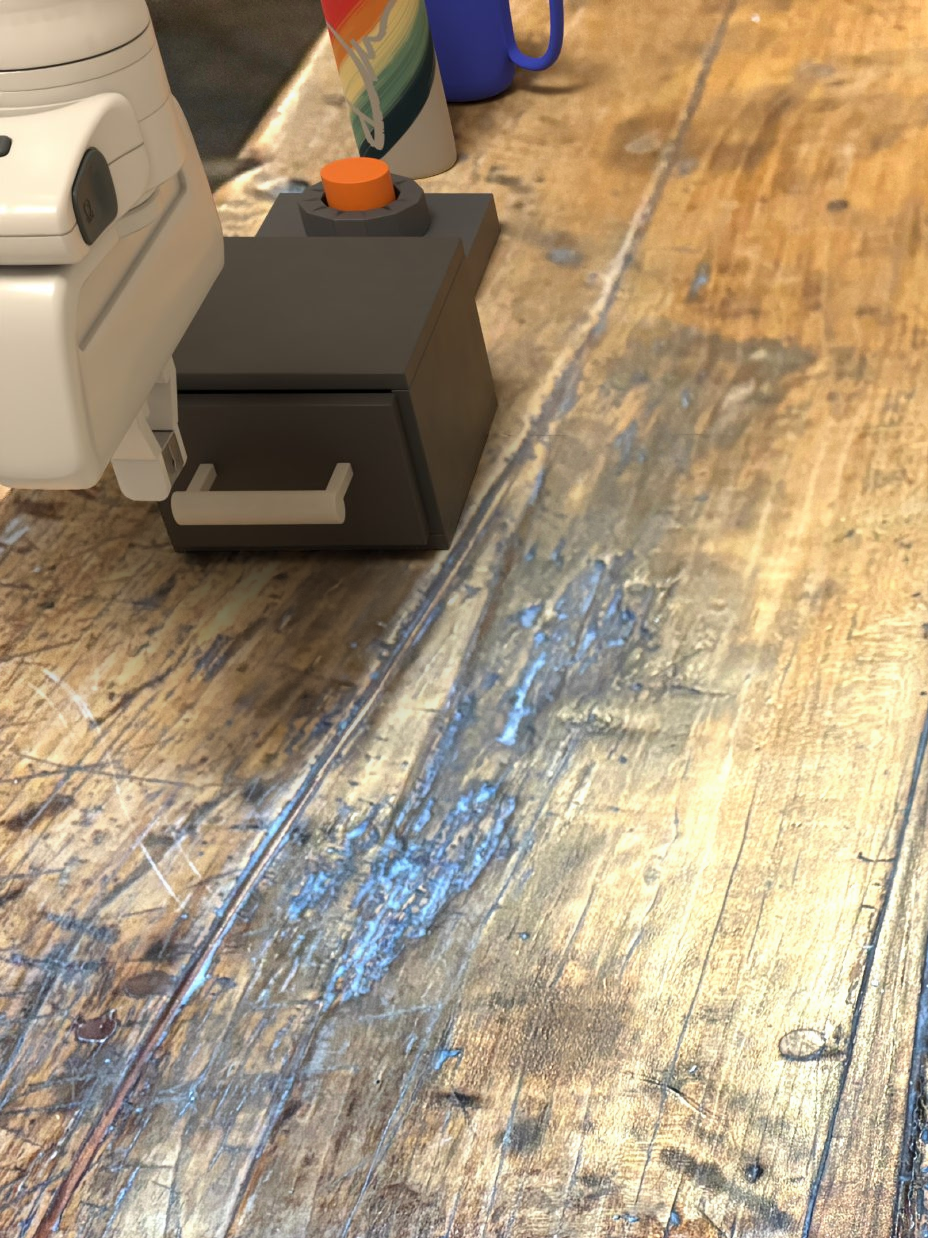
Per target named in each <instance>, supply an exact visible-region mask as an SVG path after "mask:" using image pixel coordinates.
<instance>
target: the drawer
mask: <svg viewBox="0 0 928 1238" xmlns="http://www.w3.org/2000/svg"><path fill="white" fill-rule="evenodd" d="M391 390H392V389H379V390H177V408H178V422H177V424H178V428H179V431H180V434H181V438H182V441H183V445H184V448H185V451H186V455H187V460H186V463H185V465H184V467H183V469H182V470H181V472H180V474H179V475H178V477H177V479H176V480H175V482H174V484H173V486H172V488H171V490H170V493H169V495H168V497H167V498H166V499H165V500H162V501H159V504H160V507H161V510H162V513H163V515H164V518H165V521H166V524H167V527H168V530H169V533H170V536H171V538H172V541H173V544H174V546H175V547H236V546H354V545H426V544H427V541H428V538H429V536H430V533H431V531H430V527H429V523H428V519H427V515H426V512H425V508H424V504H423V500H422V496H421V492H420V488H419V484H418V480H417V476H416V472H415V468H414V464H413V460H412V457H411V453H410V449H409V445H408V441H407V437H406V433H405V429H404V425H403V421H402V417H401V413H400V409H399V406H398V402H397V398H396V394H395V393H392V392H391Z"/></svg>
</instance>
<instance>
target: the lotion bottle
mask: <svg viewBox="0 0 928 1238" xmlns="http://www.w3.org/2000/svg"><path fill="white" fill-rule="evenodd" d="M320 3H321V8H322V12H323V16H324V20H325V24H326V29H327V32H328V35H329V36H328V37H329V40H330V45H331V48H332V52H333V57H334V60H335V64H336V68H337V72H338V77H339V81H340V84H341V85H340V86H341V88H342V89H341V90H342V92H343V97H344V99H345V105H346V109H347V112H348V117H349V120H350V125H351V129H352V133H353V136H354V139H355V145H356V148H357V151H358V155H359V157H366V158H374V159H378V160H381V161H383V162H385V163H386V164H387V165H388V167H389V171H390V173H392V174H396V175H400V176H404V177H408V178H412V179H413V180H421V179H425V178H429V177H433V176H437V175H440V174H443V173H444V172H447V171H448V170H450V169H451V168H452V167H453V166H454V165H455V163H456V161H457V159H458V158H457V147H456V142H455V141H456V140H455V136H454V131H453V127H452V123H451V118H450V113H449V108H448V103H447V101H446V98H445V94H444V89H443V85H442V80H441V75H440V71H439V66H438V62H437V57H436V52H435V48H434V43H433V39H432V34H431V29H430V25H429V20H428V16H427V11H426V7H425V2H424V0H320Z"/></svg>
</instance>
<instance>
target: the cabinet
mask: <svg viewBox="0 0 928 1238" xmlns="http://www.w3.org/2000/svg"><path fill="white" fill-rule="evenodd" d="M223 240H224V266H223V268H222V270H221V272H220V274H219V275H218V277H217V278H216V280H215V282H214V284H213V285H212V287H211V289H210V291H209V292H208V294H207V296H206V297H205V299H204V301H203V303H202V304H201V306H200V308H199V309H198V311H197V313H196V315H195V316H194V318H193V320H192V321H191V323H190V325H189V326H188V328H187V330H186V332H185V333H184V335H183V337H182V338H181V340H180V342H179V344H178V345H177V347H176V349H175V350H174V352H173V354H172V358H173V362H174V365H175V368H176V384H177V390H379V389H392V390H391V392H392V393H395V394H396V398H397V402H398V406H399V409H400V413H401V417H402V421H403V425H404V429H405V433H406V437H407V441H408V445H409V449H410V453H411V457H412V460H413V464H414V468H415V472H416V476H417V480H418V484H419V488H420V492H421V496H422V500H423V504H424V508H425V512H426V515H427V519H428V523H429V527H430V531H431V533H430V536H429V538H428V541H427V544H426V545H354V546H236V547H175V546H174V544H173V541H172V538H171V536H170V533H169V530H168V527H167V524H166V521H165V518H164V515H163V513H162V510H161V507H160V504H159V501H155V502H156V504H157V508H158V509H159V513H160V515H161V519H162V522H163V525H164V528H165V530H166V534H167V536H168V538H169V540H170V543H171V544H170V545H171V546H172V549H173V552H267V551H269V552H270V551H271V552H273V551H275V552H277V551H280V552H281V551H284V552H285V551H286V552H287V551H383V550H384V551H386V550H387V551H390V550H392V551H394V550H395V551H396V550H400V551H401V550H402V551H403V550H448V549H449V548H450V545H451V542H452V540H453V536H454V533H455V532H456V531H455V530H456V528H457V525H458V522H459V519H460V516H461V514H462V510H463V507H464V505H465V502H466V500H467V496H468V493H469V490H470V487H471V484H472V481H473V479H474V476H475V473H476V470H477V467H478V465H479V461H480V459H481V456H482V452H483V450H484V447H485V444H486V441H487V438H488V436H489V433H490V430H491V427H492V424H493V420H494V418H495V415H496V412H497V409H498V406H499V402H498V398H497V397H498V396H497V393H496V387H495V382H494V378H493V373H492V369H491V365H490V360H489V357H488V352H487V347H486V342H485V338H484V333H483V329H482V328H483V327H482V323H481V320H480V319H481V318H480V315H479V311H478V310H479V309H478V305H477V301H476V295H475V296H474V292H473V287H472V283H471V278H470V274H469V269H468V265H467V260H466V256H465V253H464V252H465V251H464V247H463V242H462V238H461V237H255V236H223Z"/></svg>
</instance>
